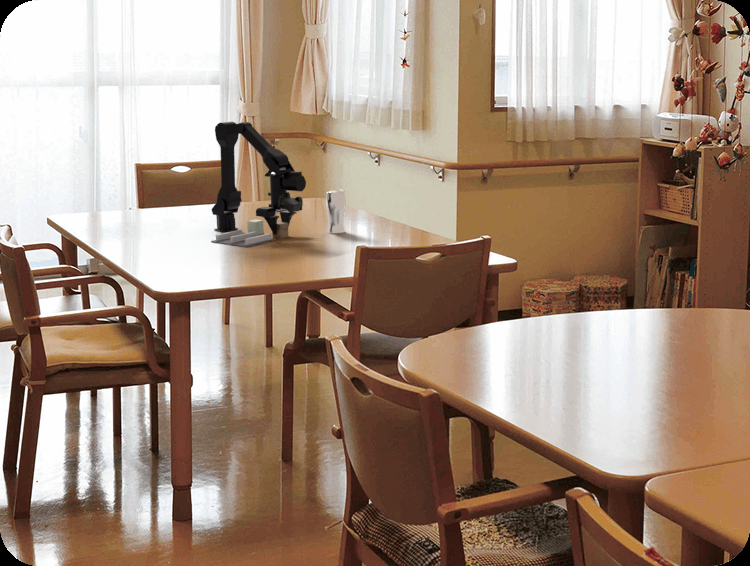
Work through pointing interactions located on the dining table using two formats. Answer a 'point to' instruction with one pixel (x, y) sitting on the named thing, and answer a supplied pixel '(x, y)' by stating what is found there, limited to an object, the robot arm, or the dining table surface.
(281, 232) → the walnut block
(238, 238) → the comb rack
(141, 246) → the dining table surface
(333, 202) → the white tall carton
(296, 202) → the robot arm
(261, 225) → the sage block
